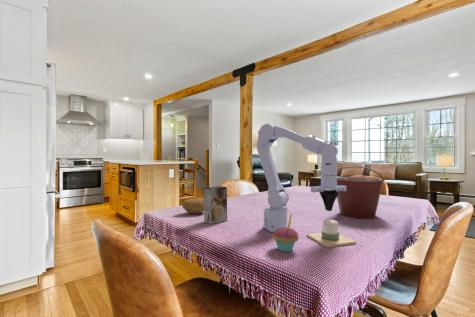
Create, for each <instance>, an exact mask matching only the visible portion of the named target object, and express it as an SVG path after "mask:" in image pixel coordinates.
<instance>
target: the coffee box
mask: <svg viewBox="0 0 475 317" xmlns="http://www.w3.org/2000/svg"><path fill="white" fill-rule="evenodd" d="M203 198H204V211H203V215H204V216H203V217H204V218H203V221H204V222H205V223H208V224H210V225H213V224H214V225H215V224H219V223H222V222H227V221H228V187H227V186H222V185H214V186H206V187H203Z"/></svg>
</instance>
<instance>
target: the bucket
mask: <svg viewBox="0 0 475 317" xmlns="http://www.w3.org/2000/svg"><path fill="white" fill-rule="evenodd" d="M348 168H349V169H350V168H362V169H365V170H368V171H371V172H373V173H374V174H377V175H378V176H380V177H381V178H375V177H364V176H363V177H359V176H358V177H357V176H340V177H339V176H337V186H346V191H336V192H338V196H337V198H336V200H337V203H338V209H339V213H340V214H341V215H342V216H343V217H347V218H352V219H358V220H363V219H365V220H369V219H371V220H373V219H375V217H376V215H377V210H378V205H379V202H380V201H379V200H380V197H381V192H382V187H383V182H385V181H386V178H385V176H384V175H383V174H382V173H380V172H379V171H377V170H374V169H372V168H369V167H367V166H359V165H358V166H357V165H354V166H344V167H340V168H338V169H337V175H338V174H339V173H340V172H341V171H342V170H345V169H348Z"/></svg>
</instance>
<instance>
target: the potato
mask: <svg viewBox="0 0 475 317" xmlns="http://www.w3.org/2000/svg"><path fill="white" fill-rule="evenodd" d="M181 206H182V208H183V210H184V211H186V212H187V213H188V214H193V215H194V214H195V215H196V214H200V213H204V197H195V198H193V197H192V198H187V199H186V200H184V201H183V202H182V204H181Z"/></svg>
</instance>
